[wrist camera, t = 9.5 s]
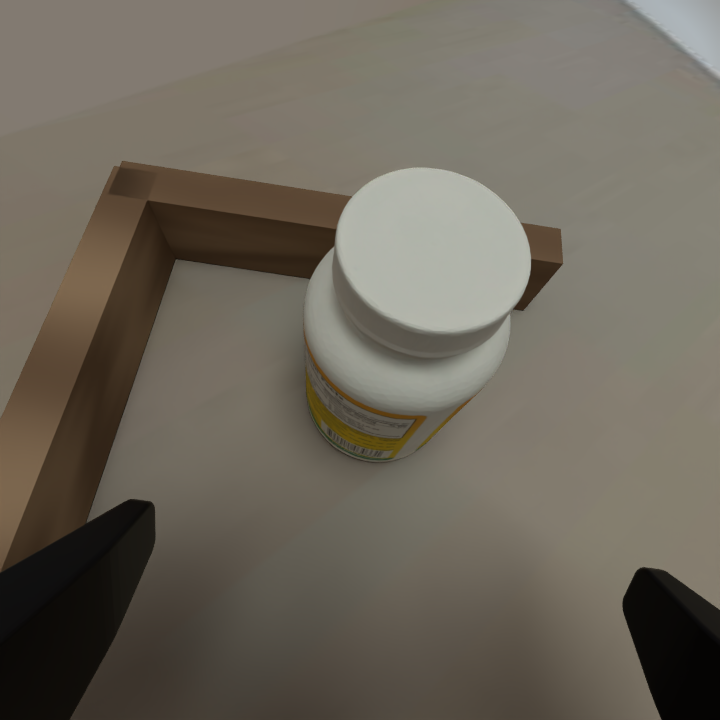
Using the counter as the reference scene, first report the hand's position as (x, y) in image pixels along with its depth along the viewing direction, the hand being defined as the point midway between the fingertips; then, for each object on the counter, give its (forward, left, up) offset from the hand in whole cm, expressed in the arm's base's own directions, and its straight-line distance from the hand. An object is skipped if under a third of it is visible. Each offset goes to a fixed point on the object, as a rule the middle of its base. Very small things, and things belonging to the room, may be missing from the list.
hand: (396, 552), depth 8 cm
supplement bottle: (+4, +4, -8) cm, 10 cm away
